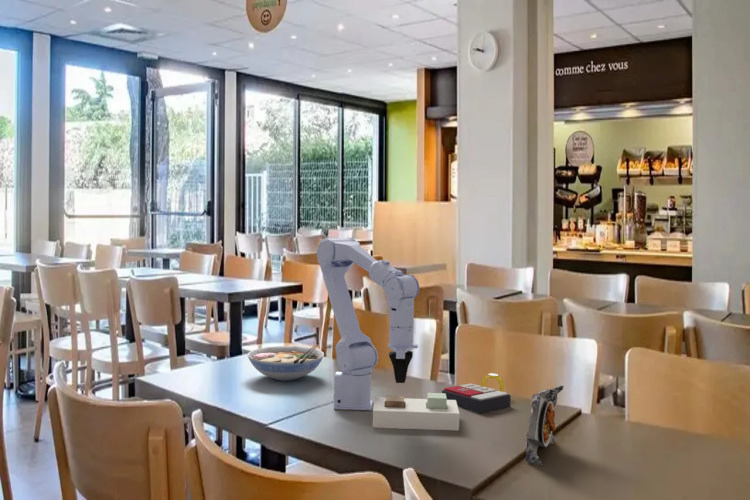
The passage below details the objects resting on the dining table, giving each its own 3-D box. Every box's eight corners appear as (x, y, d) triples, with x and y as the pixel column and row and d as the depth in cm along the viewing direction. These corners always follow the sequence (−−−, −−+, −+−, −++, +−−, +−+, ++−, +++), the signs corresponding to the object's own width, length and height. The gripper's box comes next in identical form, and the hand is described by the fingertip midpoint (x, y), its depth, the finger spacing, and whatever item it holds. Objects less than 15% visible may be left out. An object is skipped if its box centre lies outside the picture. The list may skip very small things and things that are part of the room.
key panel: (372, 427, 156) (373, 410, 156) (374, 413, 167) (375, 397, 167) (459, 430, 155) (459, 413, 155) (455, 415, 166) (455, 400, 166)
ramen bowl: (261, 366, 214) (261, 341, 213) (331, 370, 211) (332, 344, 210) (234, 386, 189) (234, 358, 189) (313, 391, 186) (314, 362, 186)
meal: (546, 466, 135) (548, 402, 134) (525, 462, 137) (527, 399, 136) (561, 444, 148) (564, 385, 147) (542, 440, 150) (544, 383, 149)
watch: (503, 397, 185) (506, 376, 185) (499, 399, 183) (501, 378, 183) (484, 391, 189) (486, 371, 188) (479, 393, 187) (481, 372, 186)
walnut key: (385, 415, 159) (385, 400, 159) (385, 409, 164) (386, 395, 164) (403, 416, 159) (404, 401, 159) (403, 410, 164) (404, 396, 163)
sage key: (427, 412, 159) (428, 397, 159) (427, 406, 163) (427, 392, 163) (446, 413, 159) (446, 398, 158) (445, 407, 163) (445, 393, 163)
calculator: (470, 381, 187) (511, 391, 175) (470, 397, 187) (511, 408, 175) (441, 387, 181) (480, 397, 168) (441, 403, 181) (481, 415, 168)
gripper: (418, 331, 153) (417, 390, 153) (418, 321, 167) (416, 375, 168) (387, 331, 153) (386, 389, 154) (389, 320, 167) (388, 374, 168)
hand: (400, 382), depth 161 cm, fingers closed
